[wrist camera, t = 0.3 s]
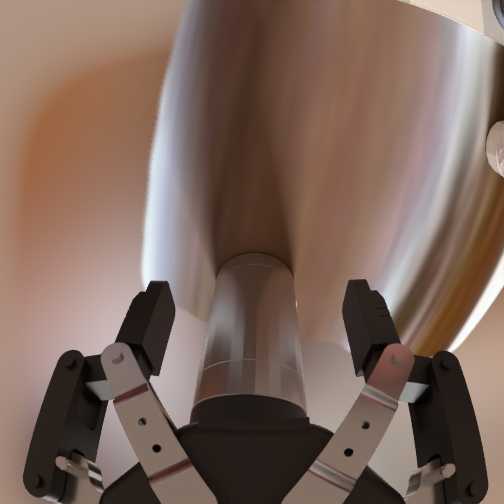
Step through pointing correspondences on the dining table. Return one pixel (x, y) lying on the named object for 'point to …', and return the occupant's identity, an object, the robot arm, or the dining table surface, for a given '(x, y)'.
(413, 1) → the game track
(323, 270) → the dining table surface
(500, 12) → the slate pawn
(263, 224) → the dining table surface
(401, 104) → the dining table surface
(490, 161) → the white cup
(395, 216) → the dining table surface
